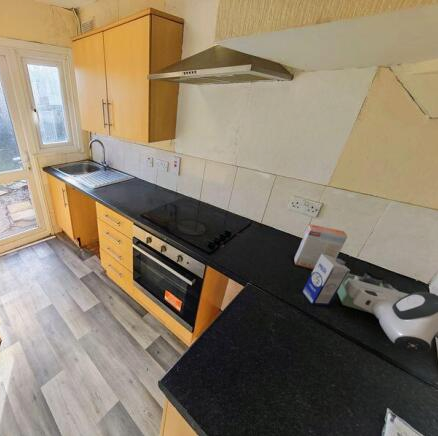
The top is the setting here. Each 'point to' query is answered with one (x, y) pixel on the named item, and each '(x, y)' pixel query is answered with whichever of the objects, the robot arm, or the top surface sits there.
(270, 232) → the top surface
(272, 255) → the top surface
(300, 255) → the cracker box
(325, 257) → the milk carton
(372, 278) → the food flask
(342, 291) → the square green tray
